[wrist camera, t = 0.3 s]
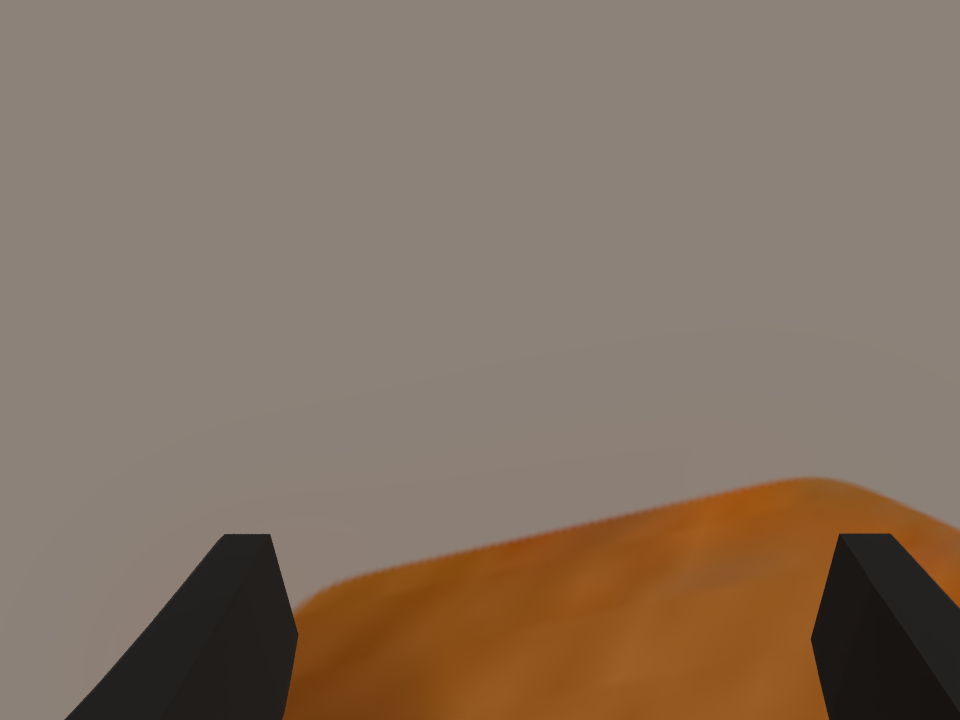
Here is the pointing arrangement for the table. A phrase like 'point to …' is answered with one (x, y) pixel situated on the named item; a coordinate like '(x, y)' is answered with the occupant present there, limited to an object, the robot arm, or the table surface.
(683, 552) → the table surface
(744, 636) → the table surface
